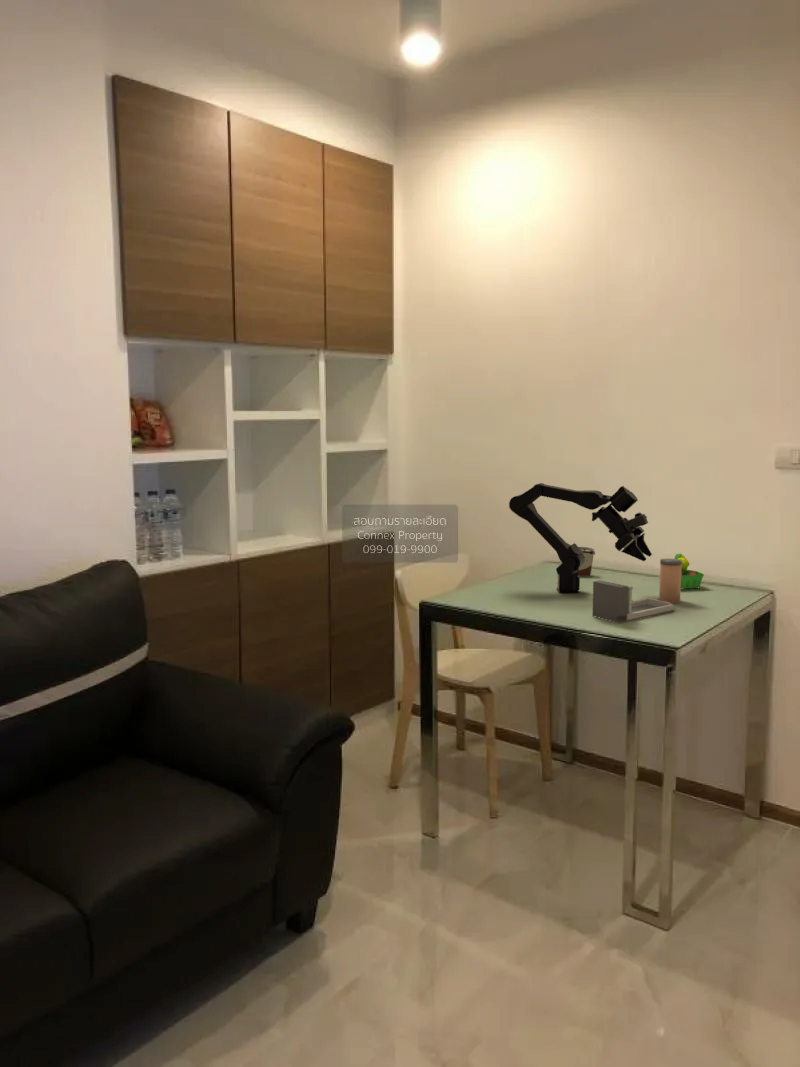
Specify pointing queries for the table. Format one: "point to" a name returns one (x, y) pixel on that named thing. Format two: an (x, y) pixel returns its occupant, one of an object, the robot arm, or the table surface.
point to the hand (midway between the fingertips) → (648, 557)
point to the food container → (586, 561)
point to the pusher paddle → (629, 598)
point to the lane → (623, 603)
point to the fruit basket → (688, 574)
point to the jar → (670, 580)
